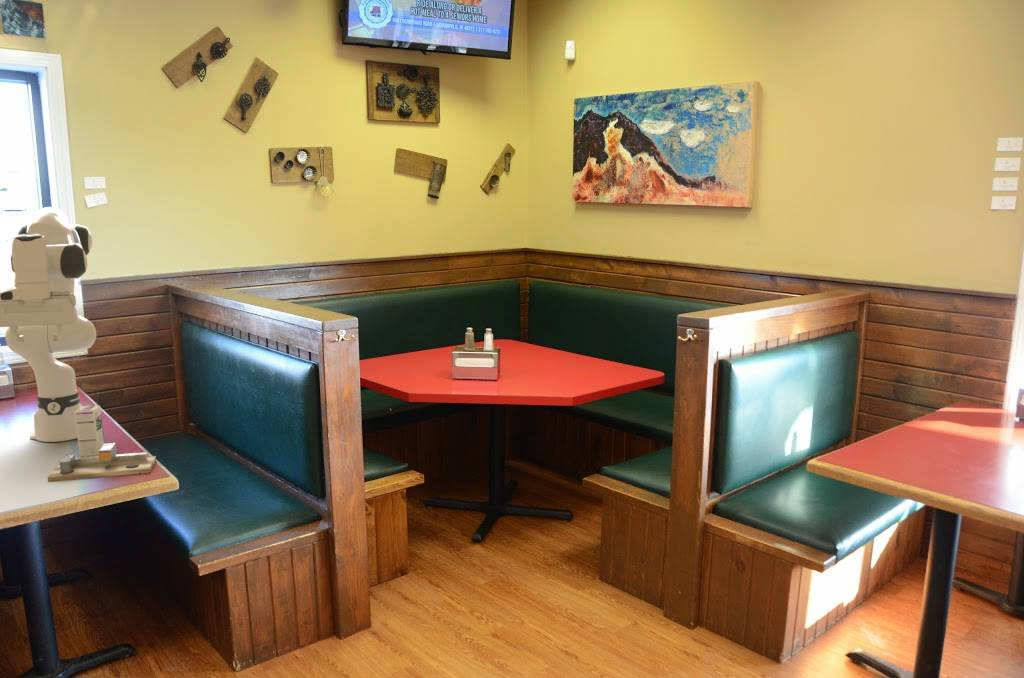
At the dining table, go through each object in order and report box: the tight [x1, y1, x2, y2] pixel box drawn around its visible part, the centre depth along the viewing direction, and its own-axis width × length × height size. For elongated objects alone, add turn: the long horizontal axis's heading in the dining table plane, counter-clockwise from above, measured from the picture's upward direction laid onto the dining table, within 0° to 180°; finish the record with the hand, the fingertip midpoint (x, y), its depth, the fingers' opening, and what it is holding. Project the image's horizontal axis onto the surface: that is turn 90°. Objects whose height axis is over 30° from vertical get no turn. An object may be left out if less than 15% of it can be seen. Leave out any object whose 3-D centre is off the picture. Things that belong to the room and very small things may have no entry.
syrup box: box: [74, 404, 106, 457], centre depth 249 cm, size 6×6×14 cm
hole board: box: [47, 455, 157, 482], centre depth 235 cm, size 12×26×1 cm, turn 105°
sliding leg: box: [99, 442, 117, 468], centre depth 234 cm, size 7×3×6 cm, turn 15°
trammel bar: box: [59, 451, 148, 474], centre depth 235 cm, size 8×22×3 cm, turn 105°
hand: (38, 341), depth 231 cm, fingers open, 8 cm apart
